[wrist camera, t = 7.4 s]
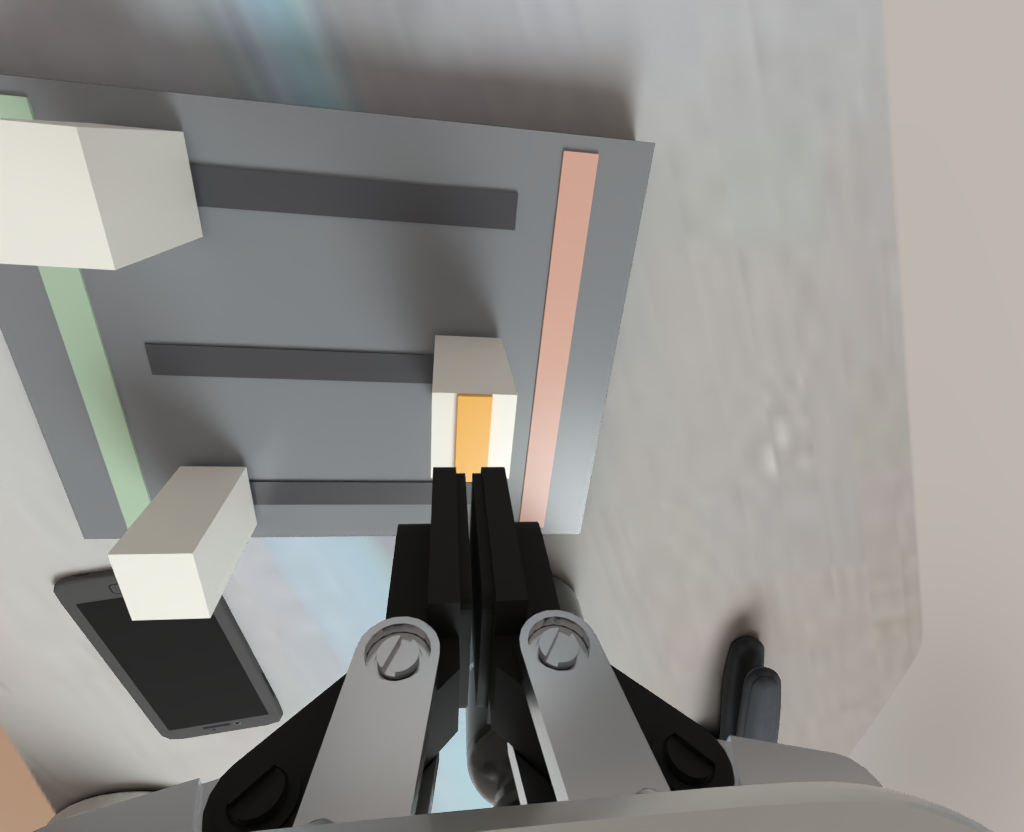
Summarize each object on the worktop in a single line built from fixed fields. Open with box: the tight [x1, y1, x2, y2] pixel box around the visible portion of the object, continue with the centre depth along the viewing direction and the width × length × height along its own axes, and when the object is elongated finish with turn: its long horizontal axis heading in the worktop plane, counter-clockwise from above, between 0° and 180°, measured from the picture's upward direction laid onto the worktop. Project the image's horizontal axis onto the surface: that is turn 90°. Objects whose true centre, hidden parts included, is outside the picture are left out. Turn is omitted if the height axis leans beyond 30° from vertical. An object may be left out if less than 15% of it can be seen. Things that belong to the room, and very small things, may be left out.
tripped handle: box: [431, 335, 517, 482], centre depth 18 cm, size 3×2×5 cm
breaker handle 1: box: [0, 118, 203, 270], centre depth 13 cm, size 3×2×5 cm
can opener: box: [719, 637, 781, 743], centre depth 35 cm, size 18×7×6 cm, turn 1°
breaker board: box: [0, 74, 655, 539], centre depth 20 cm, size 17×22×2 cm
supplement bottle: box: [466, 576, 584, 808], centre depth 25 cm, size 7×7×12 cm
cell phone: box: [54, 569, 283, 739], centre depth 29 cm, size 7×14×1 cm, turn 5°
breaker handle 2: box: [107, 466, 257, 621], centre depth 19 cm, size 3×2×5 cm
